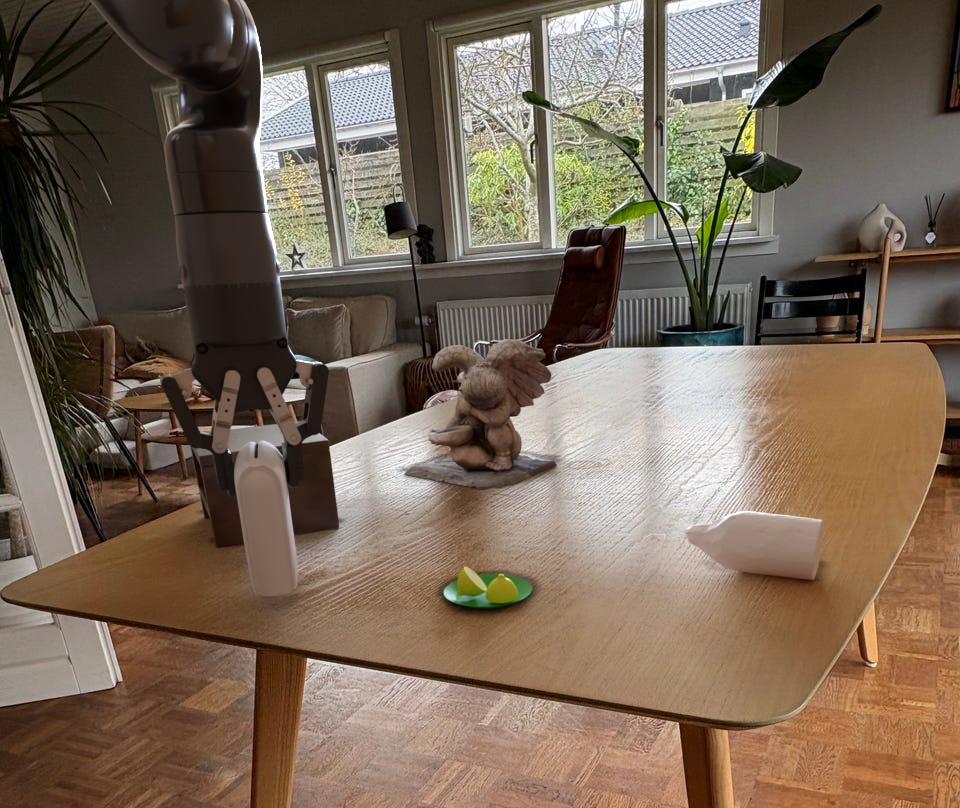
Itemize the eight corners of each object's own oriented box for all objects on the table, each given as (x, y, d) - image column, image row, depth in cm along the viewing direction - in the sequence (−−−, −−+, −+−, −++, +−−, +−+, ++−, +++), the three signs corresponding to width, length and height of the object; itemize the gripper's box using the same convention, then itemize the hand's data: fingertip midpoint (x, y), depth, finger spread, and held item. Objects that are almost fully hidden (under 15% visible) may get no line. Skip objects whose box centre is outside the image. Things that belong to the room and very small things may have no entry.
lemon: (442, 615, 72) (440, 585, 71) (445, 582, 79) (443, 554, 78) (534, 611, 72) (534, 580, 71) (529, 578, 79) (528, 550, 78)
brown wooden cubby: (216, 547, 93) (198, 456, 88) (203, 516, 104) (187, 434, 100) (339, 527, 97) (328, 439, 93) (314, 500, 109) (303, 420, 105)
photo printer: (253, 563, 81) (233, 434, 76) (298, 558, 82) (281, 430, 77) (250, 601, 72) (226, 457, 67) (300, 595, 73) (281, 453, 67)
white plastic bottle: (691, 553, 84) (695, 498, 81) (819, 567, 78) (827, 509, 76) (675, 573, 79) (678, 515, 76) (810, 589, 74) (818, 528, 71)
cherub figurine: (394, 476, 118) (381, 343, 111) (471, 451, 131) (465, 330, 124) (494, 491, 108) (488, 346, 101) (568, 462, 121) (567, 332, 114)
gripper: (311, 274, 72) (333, 471, 79) (134, 282, 67) (175, 491, 74) (330, 275, 65) (352, 489, 72) (137, 284, 61) (181, 512, 68)
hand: (262, 489), depth 73 cm, fingers closed on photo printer, 4 cm apart
